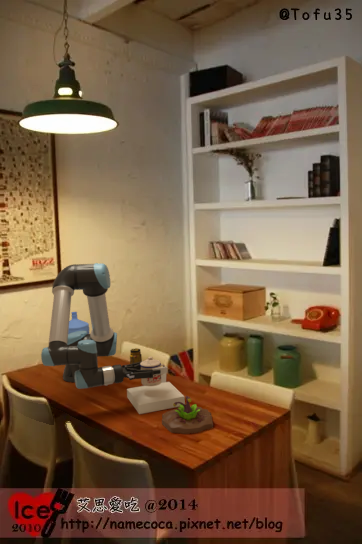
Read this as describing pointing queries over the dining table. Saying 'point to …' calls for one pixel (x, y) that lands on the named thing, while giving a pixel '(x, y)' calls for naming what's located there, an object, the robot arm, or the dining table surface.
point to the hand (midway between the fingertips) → (163, 366)
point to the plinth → (154, 397)
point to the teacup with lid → (150, 365)
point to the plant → (187, 418)
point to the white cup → (163, 378)
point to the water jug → (77, 324)
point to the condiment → (135, 356)
